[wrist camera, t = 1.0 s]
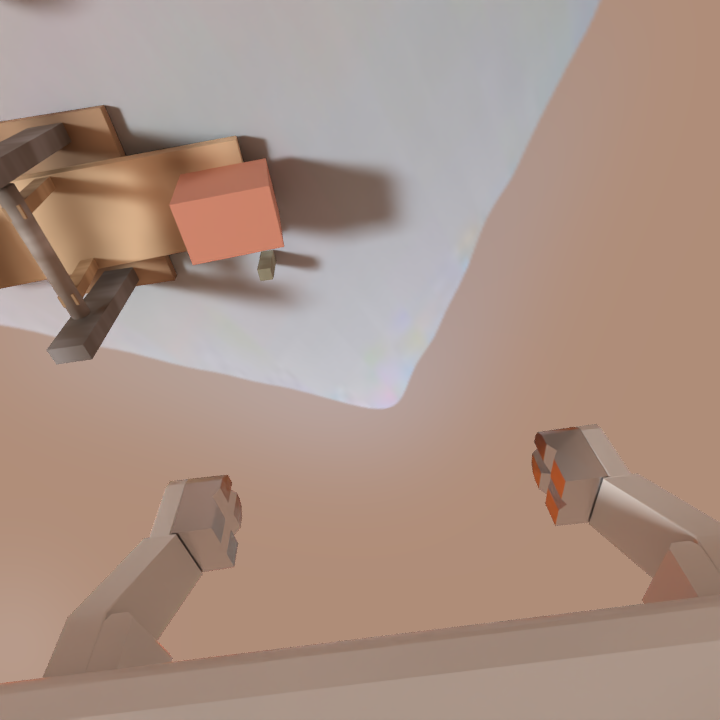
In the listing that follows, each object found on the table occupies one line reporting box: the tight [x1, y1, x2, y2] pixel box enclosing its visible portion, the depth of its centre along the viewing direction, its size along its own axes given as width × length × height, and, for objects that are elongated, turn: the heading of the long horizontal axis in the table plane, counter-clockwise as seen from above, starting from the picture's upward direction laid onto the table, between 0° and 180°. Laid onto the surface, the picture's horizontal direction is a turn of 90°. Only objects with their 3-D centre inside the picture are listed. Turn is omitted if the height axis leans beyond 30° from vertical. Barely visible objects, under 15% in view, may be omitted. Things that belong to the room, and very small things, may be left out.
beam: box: [0, 136, 243, 320], centre depth 31 cm, size 26×9×7 cm, turn 97°
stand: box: [0, 105, 276, 364], centre depth 31 cm, size 16×13×11 cm
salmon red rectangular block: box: [169, 158, 284, 265], centre depth 32 cm, size 6×4×6 cm, turn 98°
